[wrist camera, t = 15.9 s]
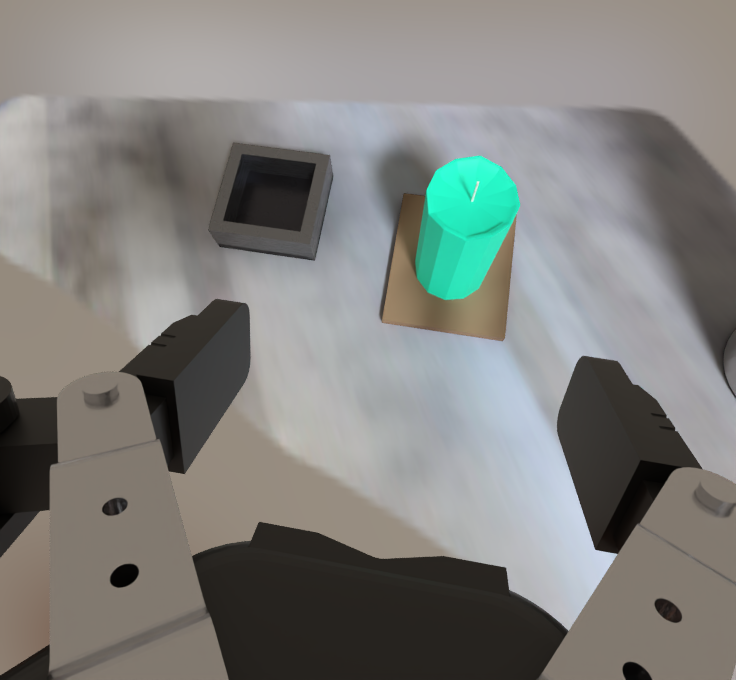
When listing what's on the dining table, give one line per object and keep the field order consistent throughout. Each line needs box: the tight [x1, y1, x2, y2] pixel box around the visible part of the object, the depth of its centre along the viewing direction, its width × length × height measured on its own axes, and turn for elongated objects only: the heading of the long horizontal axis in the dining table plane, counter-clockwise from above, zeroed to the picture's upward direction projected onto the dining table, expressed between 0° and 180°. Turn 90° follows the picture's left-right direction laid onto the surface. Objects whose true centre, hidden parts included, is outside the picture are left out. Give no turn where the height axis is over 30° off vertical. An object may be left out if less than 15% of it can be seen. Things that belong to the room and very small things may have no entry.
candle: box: [415, 156, 520, 300], centre depth 35 cm, size 6×6×12 cm
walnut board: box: [382, 193, 516, 341], centre depth 41 cm, size 10×12×1 cm
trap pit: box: [208, 143, 333, 261], centre depth 42 cm, size 9×9×3 cm
